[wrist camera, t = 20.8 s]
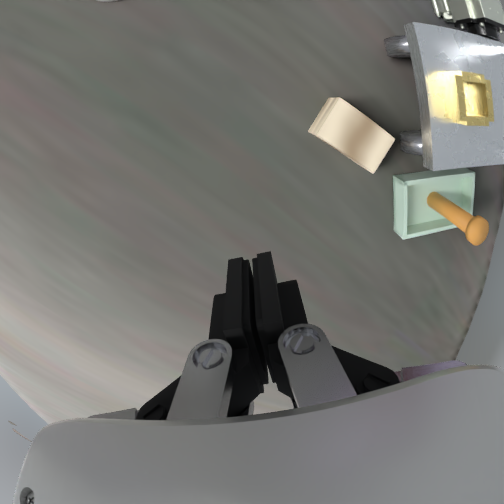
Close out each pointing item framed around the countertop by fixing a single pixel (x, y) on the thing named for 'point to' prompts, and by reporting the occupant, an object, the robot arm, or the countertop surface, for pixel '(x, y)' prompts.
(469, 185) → the tray
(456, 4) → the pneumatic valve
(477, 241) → the pin
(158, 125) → the countertop surface
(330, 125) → the block
